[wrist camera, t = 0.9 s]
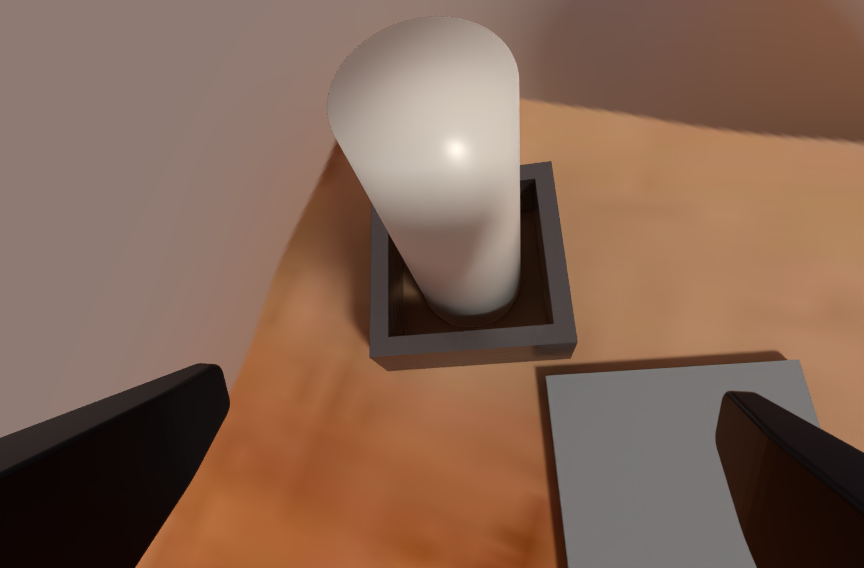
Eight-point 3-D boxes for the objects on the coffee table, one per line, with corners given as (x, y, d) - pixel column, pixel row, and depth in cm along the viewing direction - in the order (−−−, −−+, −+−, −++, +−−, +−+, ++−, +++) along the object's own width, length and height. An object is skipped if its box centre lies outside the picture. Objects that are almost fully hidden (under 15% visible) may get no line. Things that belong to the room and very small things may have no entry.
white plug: (525, 323, 23) (529, 158, 11) (424, 331, 23) (322, 184, 11) (515, 231, 24) (509, 1, 13) (421, 241, 25) (330, 33, 13)
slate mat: (879, 653, 17) (892, 660, 16) (577, 648, 18) (578, 654, 18) (791, 362, 20) (798, 359, 20) (545, 378, 22) (545, 375, 21)
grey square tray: (570, 358, 22) (577, 342, 19) (387, 371, 23) (369, 357, 20) (547, 195, 25) (551, 161, 22) (387, 214, 26) (371, 183, 23)
